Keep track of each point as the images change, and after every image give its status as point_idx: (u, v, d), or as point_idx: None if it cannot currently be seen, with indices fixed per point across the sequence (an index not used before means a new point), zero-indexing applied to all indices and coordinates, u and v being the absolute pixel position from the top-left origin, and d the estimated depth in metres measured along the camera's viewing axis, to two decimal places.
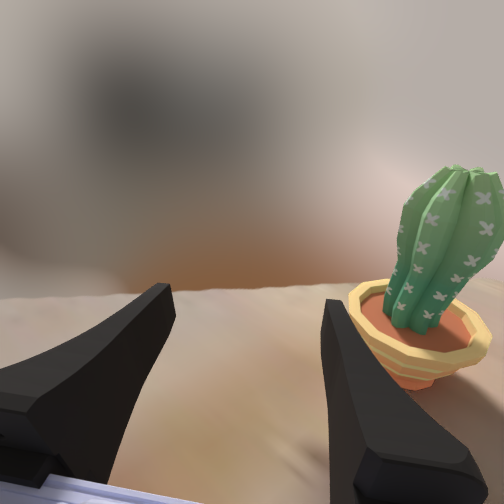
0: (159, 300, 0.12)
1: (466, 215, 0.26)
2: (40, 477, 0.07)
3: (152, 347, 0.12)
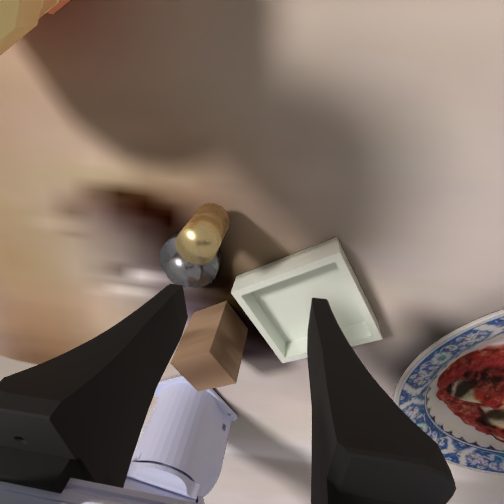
0: (172, 301, 0.12)
1: None
2: (61, 481, 0.07)
3: (166, 349, 0.12)
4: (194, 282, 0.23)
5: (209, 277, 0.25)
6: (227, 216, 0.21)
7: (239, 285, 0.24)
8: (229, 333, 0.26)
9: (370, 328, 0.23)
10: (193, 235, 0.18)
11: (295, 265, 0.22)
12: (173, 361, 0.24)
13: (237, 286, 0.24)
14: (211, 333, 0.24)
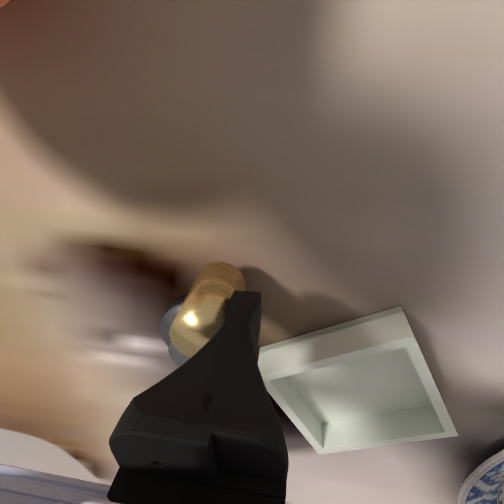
0: (256, 310, 0.12)
1: None
2: None
3: None
4: None
5: None
6: (241, 277, 0.15)
7: (266, 366, 0.18)
8: None
9: (443, 423, 0.18)
10: (193, 324, 0.12)
11: (346, 346, 0.16)
12: None
13: (264, 367, 0.18)
14: None
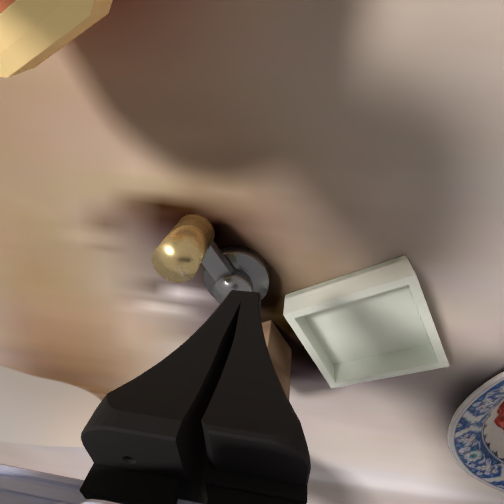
0: (240, 308, 0.12)
1: None
2: None
3: None
4: None
5: None
6: (195, 216, 0.19)
7: (292, 306, 0.22)
8: (276, 357, 0.24)
9: (437, 355, 0.21)
10: (160, 257, 0.16)
11: (360, 287, 0.20)
12: None
13: (290, 308, 0.22)
14: None
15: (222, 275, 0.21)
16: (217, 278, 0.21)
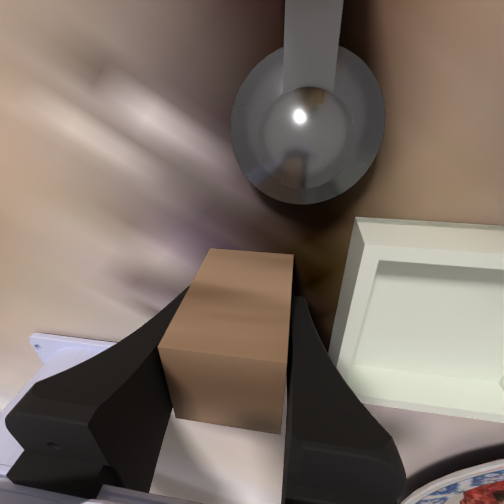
0: None
1: None
2: (96, 488, 0.07)
3: None
4: (344, 151, 0.08)
5: (323, 190, 0.11)
6: None
7: (382, 237, 0.11)
8: None
9: None
10: None
11: None
12: (167, 345, 0.09)
13: (378, 238, 0.11)
14: (276, 312, 0.10)
15: (310, 82, 0.08)
16: (292, 85, 0.08)
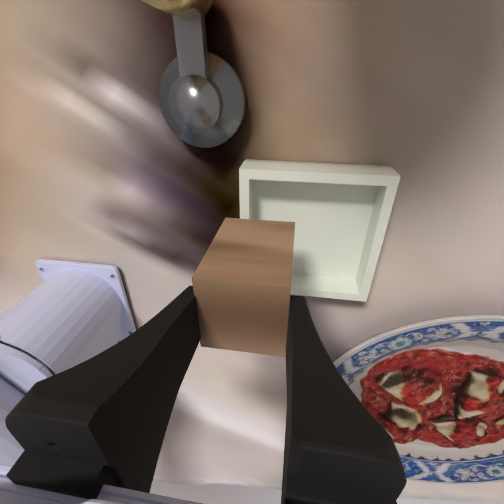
0: (193, 303, 0.12)
1: None
2: (96, 488, 0.07)
3: (187, 351, 0.12)
4: (214, 110, 0.16)
5: (217, 138, 0.18)
6: None
7: (252, 166, 0.18)
8: None
9: (363, 284, 0.20)
10: None
11: (337, 171, 0.17)
12: (199, 277, 0.12)
13: (249, 166, 0.18)
14: (282, 258, 0.13)
15: (193, 72, 0.15)
16: (184, 74, 0.15)
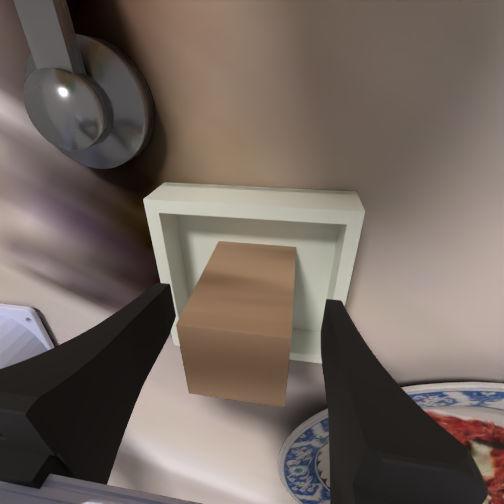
0: (158, 300, 0.12)
1: None
2: (40, 477, 0.07)
3: (152, 347, 0.12)
4: (90, 119, 0.11)
5: (115, 156, 0.13)
6: None
7: (164, 195, 0.13)
8: None
9: None
10: None
11: (278, 202, 0.12)
12: (184, 324, 0.10)
13: (160, 195, 0.13)
14: (280, 296, 0.11)
15: (54, 64, 0.10)
16: (43, 67, 0.10)
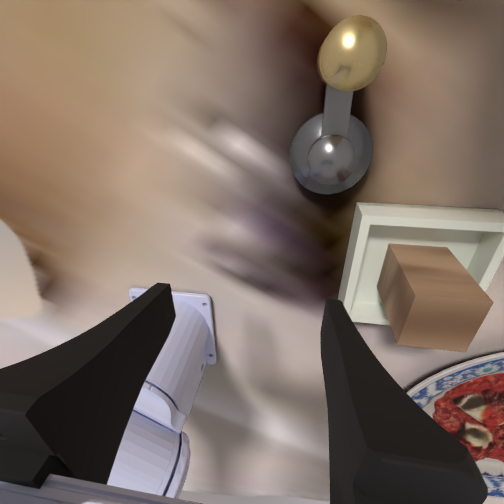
0: (159, 300, 0.12)
1: None
2: (40, 477, 0.07)
3: (152, 347, 0.12)
4: (352, 166, 0.17)
5: (339, 186, 0.19)
6: None
7: (372, 212, 0.19)
8: None
9: None
10: (344, 34, 0.12)
11: (456, 217, 0.18)
12: (420, 295, 0.16)
13: (369, 212, 0.19)
14: (466, 279, 0.18)
15: (335, 133, 0.17)
16: (326, 134, 0.17)
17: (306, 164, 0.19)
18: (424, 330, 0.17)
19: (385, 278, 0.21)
